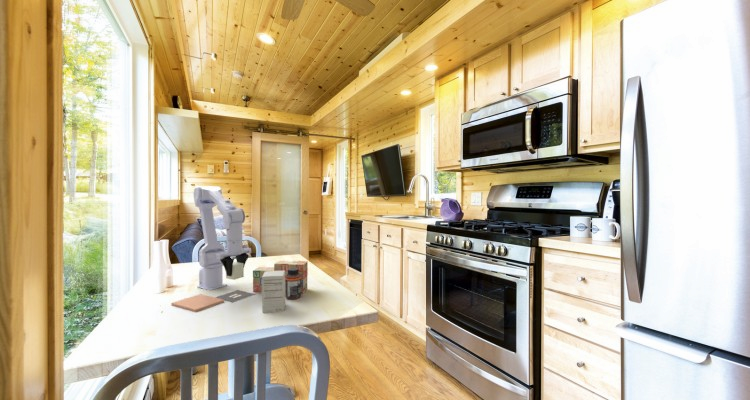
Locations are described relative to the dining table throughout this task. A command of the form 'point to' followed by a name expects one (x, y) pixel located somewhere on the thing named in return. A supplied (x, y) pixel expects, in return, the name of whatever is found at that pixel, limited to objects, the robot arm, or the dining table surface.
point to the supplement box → (273, 291)
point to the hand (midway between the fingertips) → (234, 274)
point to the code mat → (235, 296)
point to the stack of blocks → (281, 267)
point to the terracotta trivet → (197, 302)
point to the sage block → (237, 271)
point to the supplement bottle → (293, 284)
